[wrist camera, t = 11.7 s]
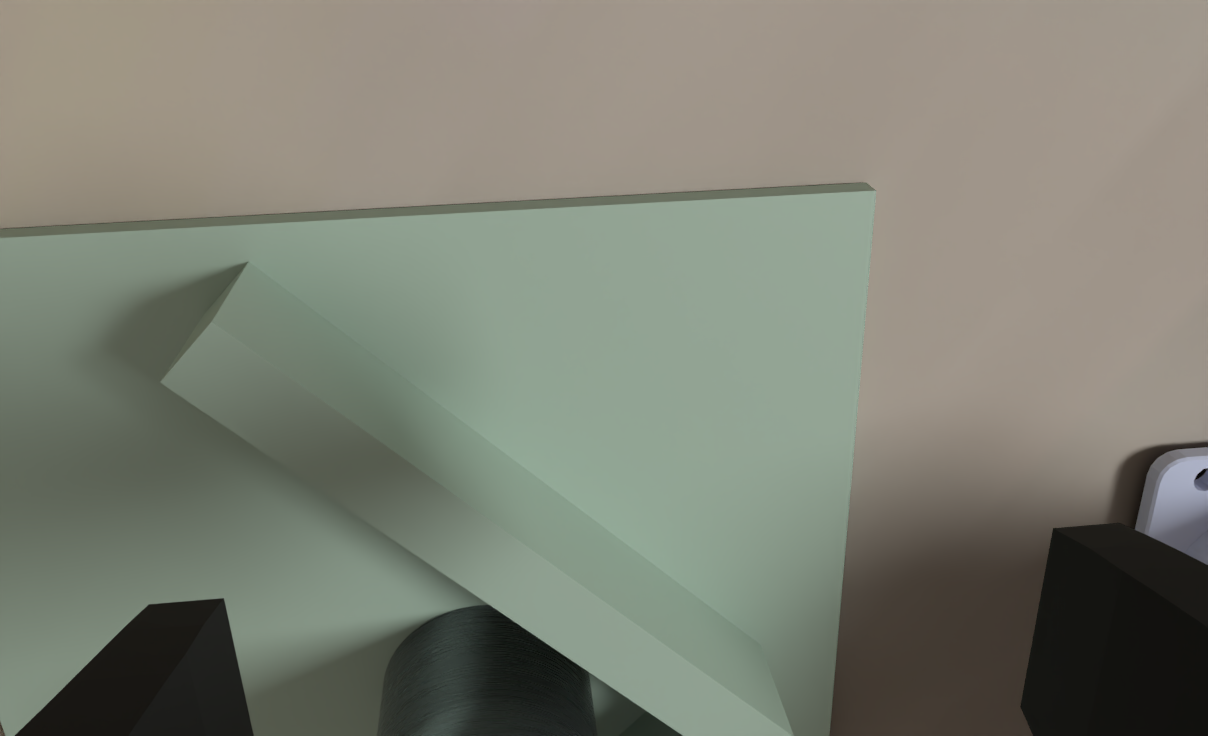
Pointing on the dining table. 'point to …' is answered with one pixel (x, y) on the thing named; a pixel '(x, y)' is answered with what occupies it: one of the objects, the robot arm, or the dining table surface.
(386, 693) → the metal axle
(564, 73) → the dining table surface
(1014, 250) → the dining table surface
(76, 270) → the sage V-block
